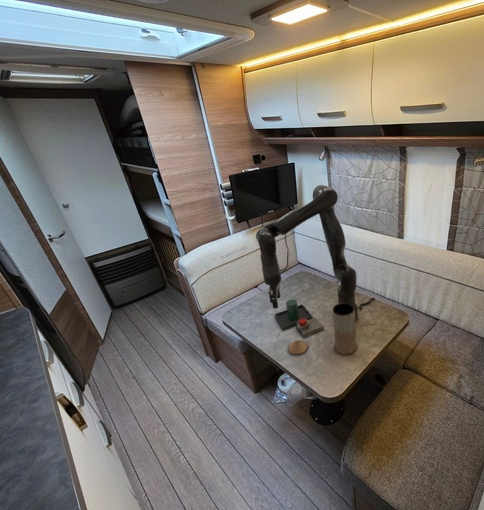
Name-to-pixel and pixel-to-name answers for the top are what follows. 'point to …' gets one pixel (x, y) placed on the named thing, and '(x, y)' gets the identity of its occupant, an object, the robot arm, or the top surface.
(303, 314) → the baking tray
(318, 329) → the box
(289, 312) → the green peg
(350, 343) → the planter
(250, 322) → the top surface
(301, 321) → the stop button
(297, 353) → the trivet
